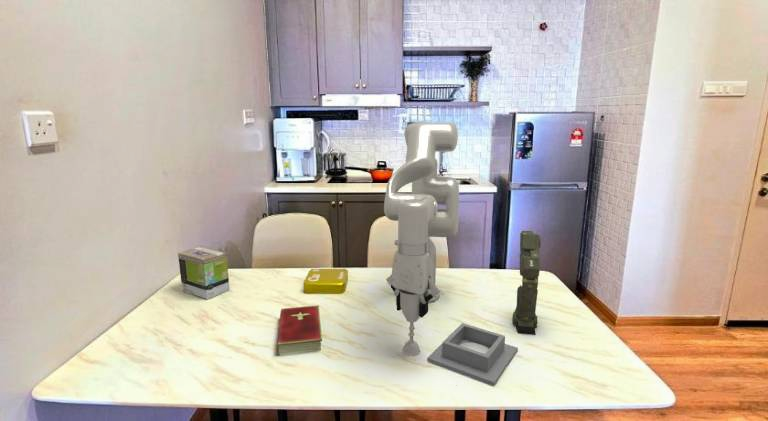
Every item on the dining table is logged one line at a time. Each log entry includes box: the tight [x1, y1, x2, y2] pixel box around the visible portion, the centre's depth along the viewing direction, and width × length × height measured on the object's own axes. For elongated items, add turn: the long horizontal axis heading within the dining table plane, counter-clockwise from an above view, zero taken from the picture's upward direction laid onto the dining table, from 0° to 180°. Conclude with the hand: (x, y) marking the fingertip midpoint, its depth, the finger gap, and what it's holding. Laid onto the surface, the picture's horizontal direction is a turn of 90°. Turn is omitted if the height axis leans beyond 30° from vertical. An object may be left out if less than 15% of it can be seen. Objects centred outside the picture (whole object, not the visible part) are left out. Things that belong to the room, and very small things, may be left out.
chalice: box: [399, 289, 422, 357], centre depth 111 cm, size 7×7×18 cm
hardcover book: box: [276, 304, 323, 357], centre depth 122 cm, size 12×21×4 cm, turn 11°
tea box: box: [177, 246, 230, 300], centre depth 151 cm, size 15×10×15 cm, turn 58°
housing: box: [426, 322, 519, 387], centre depth 110 cm, size 18×18×5 cm
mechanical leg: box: [512, 230, 542, 336], centre depth 125 cm, size 14×7×30 cm, turn 168°
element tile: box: [303, 268, 349, 295], centre depth 156 cm, size 15×15×5 cm
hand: (411, 311), depth 111 cm, fingers closed on chalice, 6 cm apart
